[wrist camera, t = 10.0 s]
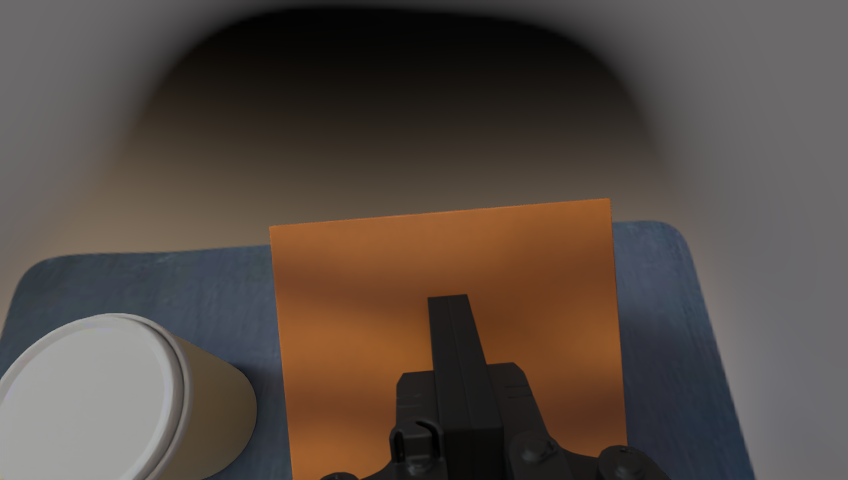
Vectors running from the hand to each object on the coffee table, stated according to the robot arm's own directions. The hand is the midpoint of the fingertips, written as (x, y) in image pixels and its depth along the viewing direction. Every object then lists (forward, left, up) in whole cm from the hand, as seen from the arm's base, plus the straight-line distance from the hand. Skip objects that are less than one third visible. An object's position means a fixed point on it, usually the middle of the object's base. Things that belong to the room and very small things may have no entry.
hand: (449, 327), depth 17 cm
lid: (-1, +3, -3) cm, 4 cm away
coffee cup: (+16, +5, -17) cm, 24 cm away
